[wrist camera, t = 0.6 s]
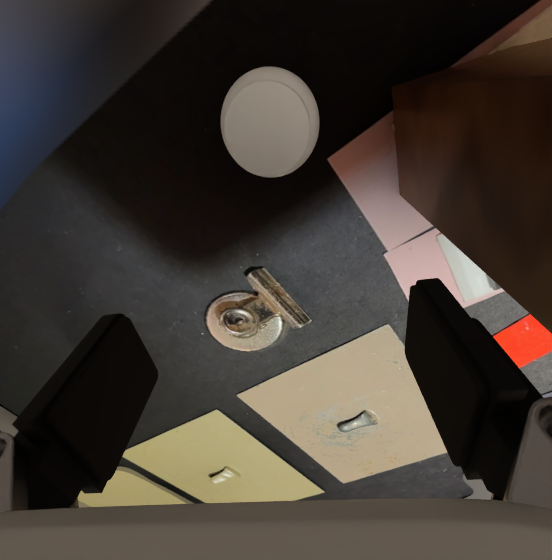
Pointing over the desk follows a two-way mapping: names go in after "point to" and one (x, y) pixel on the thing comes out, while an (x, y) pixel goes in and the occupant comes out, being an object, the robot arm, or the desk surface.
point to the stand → (486, 164)
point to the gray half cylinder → (7, 422)
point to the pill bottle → (270, 122)
